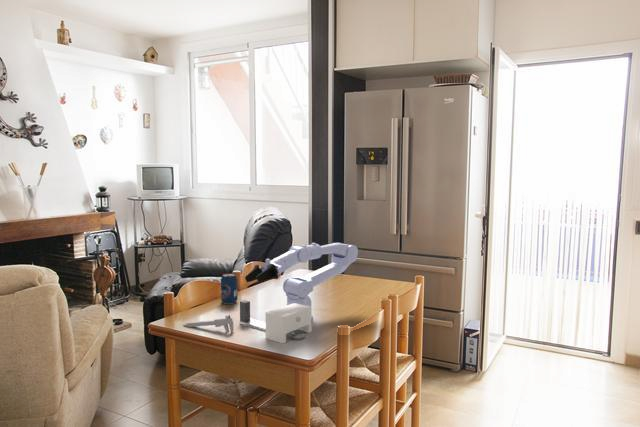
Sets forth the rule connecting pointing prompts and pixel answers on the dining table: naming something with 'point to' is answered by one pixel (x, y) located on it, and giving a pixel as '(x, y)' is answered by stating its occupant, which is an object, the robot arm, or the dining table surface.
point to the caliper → (215, 323)
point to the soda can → (229, 288)
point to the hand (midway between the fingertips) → (251, 279)
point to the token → (297, 335)
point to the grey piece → (246, 318)
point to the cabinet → (287, 321)
